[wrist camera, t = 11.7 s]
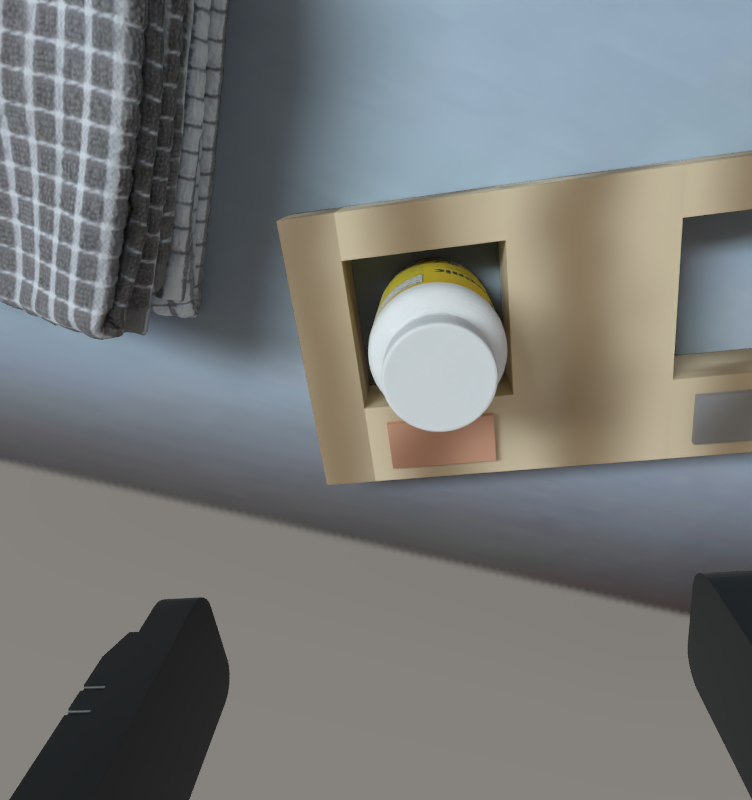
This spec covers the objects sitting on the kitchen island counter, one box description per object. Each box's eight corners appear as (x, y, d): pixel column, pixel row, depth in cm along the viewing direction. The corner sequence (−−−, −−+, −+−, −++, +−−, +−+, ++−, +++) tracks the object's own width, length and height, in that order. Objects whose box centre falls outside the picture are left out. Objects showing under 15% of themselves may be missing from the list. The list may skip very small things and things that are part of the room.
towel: (251, -106, 23) (171, -226, 16) (201, 327, 30) (131, 381, 23) (-125, -205, 23) (-382, -372, 16) (-84, 257, 30) (-246, 289, 23)
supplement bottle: (512, 318, 28) (552, 393, 19) (425, 382, 30) (426, 479, 21) (443, 230, 27) (453, 268, 18) (357, 303, 29) (326, 371, 20)
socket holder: (896, 130, 24) (965, 126, 21) (844, 414, 29) (893, 444, 26) (291, 214, 27) (274, 221, 24) (335, 456, 32) (326, 488, 29)
